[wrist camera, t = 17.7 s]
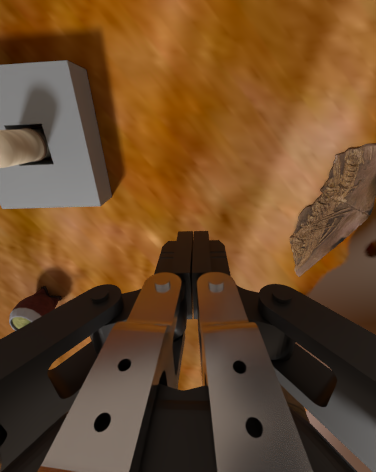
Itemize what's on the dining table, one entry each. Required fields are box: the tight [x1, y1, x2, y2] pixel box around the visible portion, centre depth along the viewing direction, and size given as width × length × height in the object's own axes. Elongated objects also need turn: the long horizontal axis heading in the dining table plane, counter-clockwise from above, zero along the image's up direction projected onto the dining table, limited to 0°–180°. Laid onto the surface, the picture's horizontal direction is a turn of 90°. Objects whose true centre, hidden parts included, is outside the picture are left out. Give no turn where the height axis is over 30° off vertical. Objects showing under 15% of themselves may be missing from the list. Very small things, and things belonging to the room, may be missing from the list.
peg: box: [0, 128, 51, 168], centre depth 30 cm, size 4×4×11 cm
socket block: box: [0, 60, 112, 209], centre depth 33 cm, size 18×16×5 cm
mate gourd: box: [9, 286, 62, 331], centre depth 44 cm, size 8×8×15 cm
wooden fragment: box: [290, 144, 376, 277], centre depth 38 cm, size 26×11×1 cm, turn 161°
